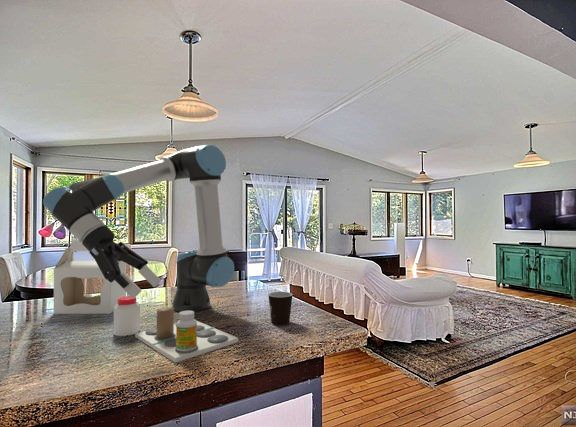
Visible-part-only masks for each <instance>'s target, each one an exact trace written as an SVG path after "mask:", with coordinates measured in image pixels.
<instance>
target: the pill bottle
mask: <svg viewBox="0 0 576 427" xmlns="http://www.w3.org/2000/svg"><path fill="white" fill-rule="evenodd" d="M112 325H113V332H112V333H113V335H114V336H115V337H116V336H117V337H126V336H127V335H128V336H131V335H135V333H139V332H141V304H140V303H139V302H137V296H136V297H135V298H134V299H133V298H132V297H131V296H130V295H128V296H127V295H126V296H125V297H120V298H118V304H116V305H115V306H114V312H113V324H112Z"/></svg>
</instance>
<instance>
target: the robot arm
mask: <svg viewBox="0 0 576 427" xmlns="http://www.w3.org/2000/svg"><path fill="white" fill-rule="evenodd" d="M226 167H227V161H226V157H225V154H224V153H223V151H222V150H221V149H220V148H219V147H217V146H216V145H214V144H200V145H198V146H197V145H196V146H194V147H189V148H184V149H182V150H179V151H177V152H174V153H171V154H170V155H169V154H168V155H166V156H162V157H161V158H160V159H159V160H158V161H153V162H150V163H149V162H148V163H146V164H142V165H138V166H135V167H132V168H127V169H124V170H121V171H116V172H113V173H112V172H110V173H107V174H103V175H101V176H97V177H95V178H90V179H85V180H83V181H75V182H73V183H71V184H69V185H68V186H65V185H61V186H57V187H55V188H53V189H51V190H49V192H47V193H46V194H45V196H44V198H43V201H42V203H43V206H44V207H45V208H46V209H47V210H48V211H49V213H51V216H52V217H55V219H56V220H58V222H60V223H61V225H63V226H64V228H66V229H67V230H68V231H69V232H70V234H72V235H73V238H74V240H75V239H76V240H79V241H80V242H82V244H83V246H84V247H85V248H86V249H87V250H88V251H89V252H88V253H89V255H91V257H92V258H93V259H94V261H96V263H97V265H98V266H99V268H100V270H101V272H102V274H103V275H104V277H105V279H107V280H108V281H109V282H111V283H112V282H113V281H114V280H115V281H116V282H117V283H118V284H119V285H120V286H121V287H122V288H123V289H124V290H125V291H126V294H128V296H131V297H132V298H133V299H134V298H135V297H136V298H137V296H138V295H139V294H141V292H142V291H143V290H142V289H141V288H140V287H139V286H138V285H137V284H136V283H135V282H134V281H133V280H132V279H131V278H130V277H129V276H128V275H127V273H126V274H125V273H122V274H121V271H120V268H119V265H118V262H117V261H123V262H125V263H126V265H128V266H131V267H133V268H134V269H137V270H138V273H139V274H140V275H141V276H142V277H143V278H144V279H145V280H146V281H147V282H148V283H149V284H150V285H151V286H152V287H153V288H156V287H157V286H158V285H159V283H161V282H162V279H161V278H160V277H159V276H158V275H157V274H156V273H155V272H154V271H153V270H152V269H151V268H150V267H149V266H148V263H149V261H148V260H147V259H145V258H143V257H142V256H140V255H139V254H138V253H136V252H135V251H133V250H132V249H131V248H129V247H128V246H127V245H125V243H124V242H122V241H119V242H118V243H116V242H115V241H114V239H115V237H116V236H115V233H114V232H113V231H112V230H111V229H110V228H109V227H108V226H107V225H105V222H103V220H102V219H100V217H98V216H97V215H96V214H95V213H94V212H95V211H97V210H98V209H100V208H101V207H104V206H105V205H107V204H109V203H111V202H113V201H115V200H117V199H118V198H119V197H121V196H122V195H124V194H126V193H130V192H133V191H135V190H138V189H141V188H145V187H148V186H151V185H154V184H158V183H161V182H165V181H167V182H173V181H176V180H182V179H189V183H190V184H191V185H192V186H193V187H194V193H195V195H194V196H195V207H196V218H197V220H196V221H197V228H198V229H197V230H198V242H199V249H198V250H197V251H196V250H195V251H187V252H179V253H178V254H177V256H176V291H175V294H174V297H173V301H172V303H171V304H172V305H171V308H174V312H179V313H180V312H182V311H194V312H199V311H204V310H207V309H208V308H210V307H211V300H210V299H211V298H210V296H209V292H208V289H207V286H208V287H212V288H221V287H225V286H226V285H227V284H228V283H229V282H230V281H231V279H232V278H233V276H234V274H235V264H234V261H233V260H232V259H231V258H230V257H229V256H228V250H227V249H226V247H224V246H223V237H222V226H221V225H222V224H221V223H222V222H221V213H220V212H221V211H220V202H219V200H220V199H219V189H218V185H219V184H220V182H221V181H222V174H223V173H224V171H225V170H226ZM107 272H109V273H107Z"/></svg>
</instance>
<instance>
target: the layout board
mask: <svg viewBox="0 0 576 427" xmlns="http://www.w3.org/2000/svg"><path fill="white" fill-rule="evenodd" d="M174 312H175V310H174V308H172V306H170V307H169V306H167V307H160V308H158V309H156V327H153V328H149V329H147V330H144V331H143V330H142V331H139V332H138V333H135V334H134V335H135V336H134V337H135V338H136V339H137V338H138V341H140V342H142V343H144V344H145V345H147V346H148V347H150V348H151V349H153V350H155V352H158V353H159V354H160V355H162V356H164V357H165V358H167V359H168V360H170V361H171V362H173V363H178V362H182V361H185V360H188V359H191V358H194V357H197V356H200V355H203V354H206V353H210V352H212V351H215V350H218V349H221V348H224V347H227V346H230V345H233V344H237V343H239V337H238V336H234V335H233V334H230V333H227V332H225V331H222V330H220V329H218V328H215V327H214V326H210V325H208V324H205V323H204V322H201V321H198V320H196V321H197V346H196V348H195V349H193V350H191V351H184V352H183V351H178V350H177V349H176V325H177V322H176V323H174V317H175V316H174V315H175V313H174Z"/></svg>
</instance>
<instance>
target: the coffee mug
mask: <svg viewBox="0 0 576 427" xmlns="http://www.w3.org/2000/svg"><path fill="white" fill-rule="evenodd" d="M267 295H268V305H269V311H270V312H269V314H270V323H271V324H272V325H274V326H278V327H279V326H288V325H289V324H290V319H291V312H292V311H291V310H292V304H293V303H292V302H293V293H291V292H289V291H273V292H269V293H268V294H267Z"/></svg>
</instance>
